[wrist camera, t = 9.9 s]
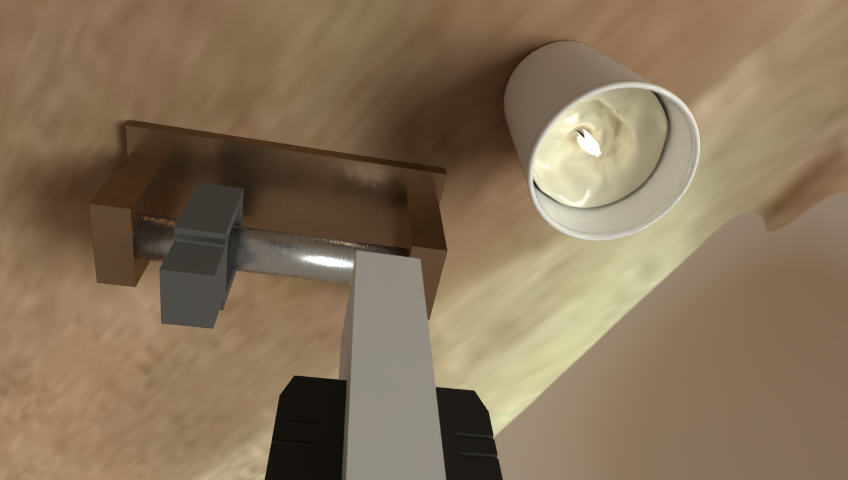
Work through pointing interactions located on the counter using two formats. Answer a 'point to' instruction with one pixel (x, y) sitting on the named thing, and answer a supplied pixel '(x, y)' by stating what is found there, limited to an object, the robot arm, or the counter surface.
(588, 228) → the candle holder
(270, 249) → the pipe rig
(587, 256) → the counter surface
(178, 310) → the collar
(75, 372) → the counter surface
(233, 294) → the counter surface
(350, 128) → the counter surface
